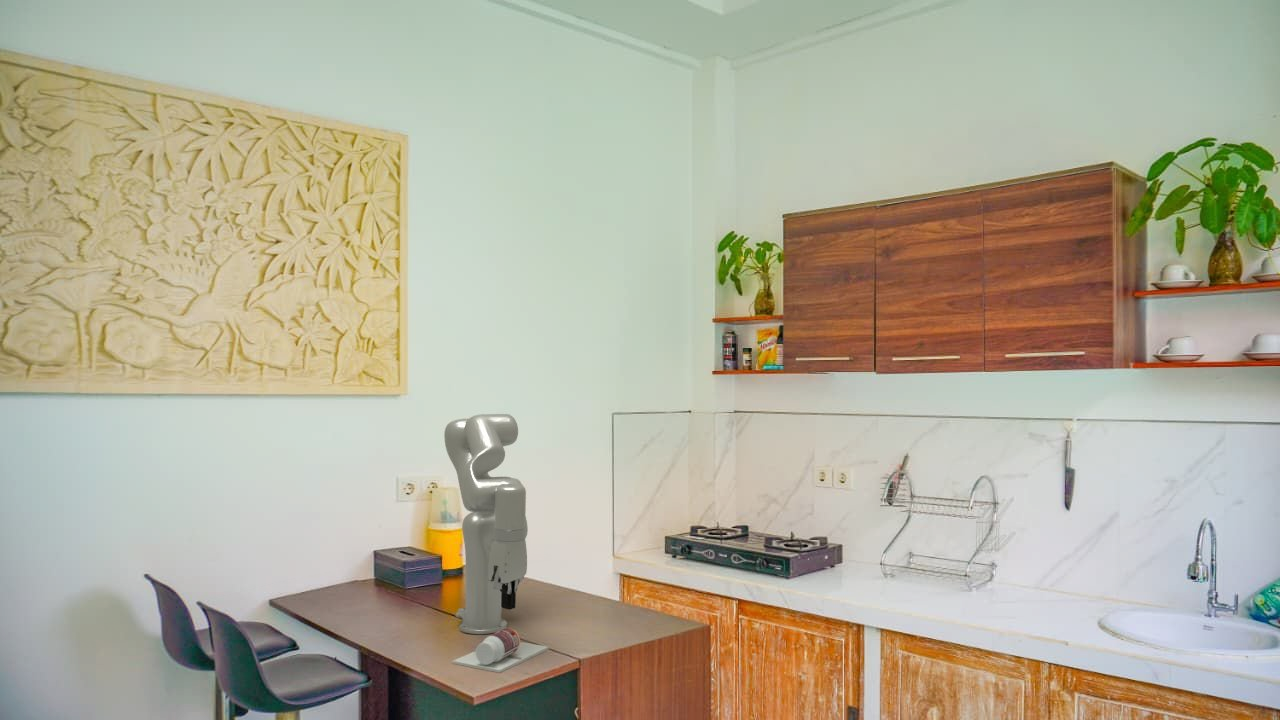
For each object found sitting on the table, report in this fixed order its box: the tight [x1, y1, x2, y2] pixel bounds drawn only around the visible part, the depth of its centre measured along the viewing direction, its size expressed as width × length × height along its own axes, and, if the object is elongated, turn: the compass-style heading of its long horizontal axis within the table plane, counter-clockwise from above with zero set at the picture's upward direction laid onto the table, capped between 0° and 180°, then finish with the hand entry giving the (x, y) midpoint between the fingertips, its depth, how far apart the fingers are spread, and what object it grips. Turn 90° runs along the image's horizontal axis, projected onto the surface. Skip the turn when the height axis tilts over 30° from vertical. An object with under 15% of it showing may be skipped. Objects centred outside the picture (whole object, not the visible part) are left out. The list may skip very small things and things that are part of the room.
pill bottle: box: [475, 627, 521, 665], centre depth 218 cm, size 6×6×11 cm
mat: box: [451, 641, 550, 674], centre depth 222 cm, size 14×20×1 cm
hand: (508, 607), depth 225 cm, fingers closed
